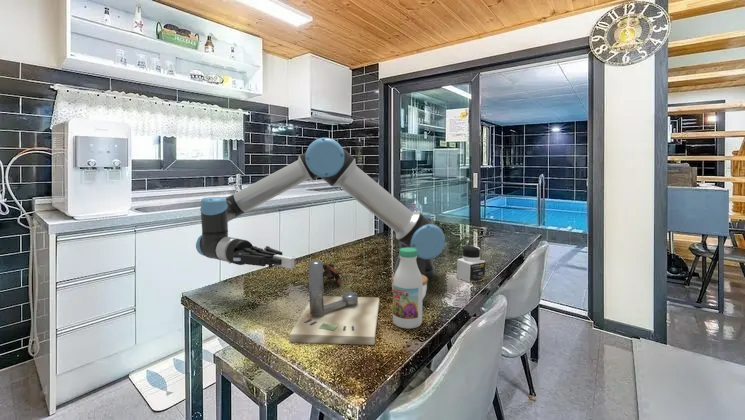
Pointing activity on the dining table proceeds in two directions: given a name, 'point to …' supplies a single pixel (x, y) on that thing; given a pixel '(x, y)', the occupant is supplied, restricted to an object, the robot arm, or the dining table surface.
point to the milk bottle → (407, 291)
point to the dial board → (339, 323)
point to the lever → (317, 292)
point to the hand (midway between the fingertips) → (292, 263)
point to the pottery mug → (331, 273)
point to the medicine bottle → (471, 265)
